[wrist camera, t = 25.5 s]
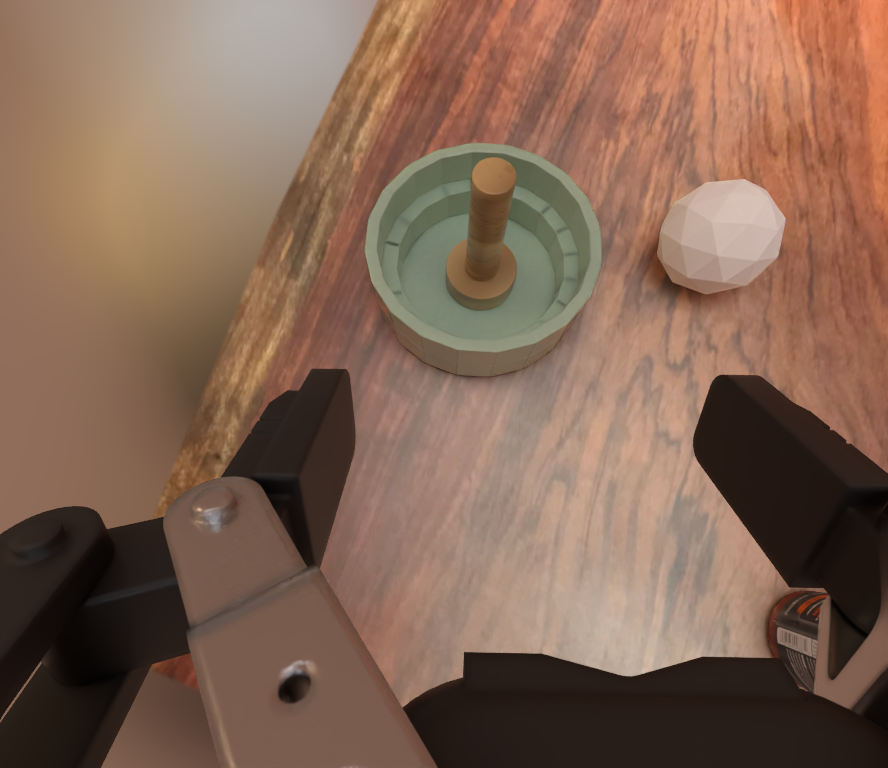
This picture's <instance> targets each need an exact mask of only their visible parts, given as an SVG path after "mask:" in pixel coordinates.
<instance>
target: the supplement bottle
mask: <svg viewBox="0 0 888 768" xmlns="http://www.w3.org/2000/svg"><path fill="white" fill-rule="evenodd" d="M827 596H828V594H827V593H822V592H815V591H800V592H794V593H792V594H790V595H787V596H786V597H785V598H783V599H782V600H781V601H780V602H779V603H778V604H777V605H776V606H775V608H774V610H773V611H772V612H771V616H770V620H769V627H768V637H769V644H770V647H771V650H772V653H773V655H774V657H775V658H781V660H782V661H783V663H784V664H785V666H786V668H787V669H788V671H789V673H790V674H791V676H792V677H793V679H794V681H795V682H796V684H798V685H799V686H801V687H803V688H805V689H806V690H808V691H809V692H811V693H813V692H814V681H815V667H816V654H817V641H818V627H819V614H820V607H821V605H822V603H823V602H824V600H825V599H826V597H827Z"/></svg>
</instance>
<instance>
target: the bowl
mask: <svg viewBox="0 0 888 768" xmlns="http://www.w3.org/2000/svg"><path fill="white" fill-rule="evenodd" d="M491 157H497V158H501V159H504V160H506V161H508V162H509V163H510V164H511V165H512V166H513V167H514V169H515V171H516V176H517V179H516V184H515V189H514V194H513V198H512V203H511V208H510V213H509V218H508V222H507V227H506V232H505V237H504V242H503V243H504V244H505V245H506V246H507V247H508V248H509V249H510V250H511V252H512V253H513V255H514V257H515V260H516V264H517V273H516V277H515V281H514V284H513V288H512V291H511V293H510V295H509V296H508V298H507V299H506V300H505V301H504V302H503V303H502V304H500V305H499V306H497V307H495V308H492V309H489V310H481V311H478V310H472V309H468V308H466V307H464V306H462V305H460V304H459V303H457V302H456V301H455V300H454V299H453V298H452V296H451V295H450V293H449V291H448V288H447V284H446V263H447V259H448V256H449V254H450V252H451V251H452V249H453V248H454V247H455V246H456V245H457V244H458V243H460V242H461V241H463V240H465V239H467V234H468V220H469V206H470V193H471V179H472V171H473V169H474V167H475V166H476V165H477V164H478V163H479V162H480V161H482V160H483V159H486V158H491ZM365 255H366V260H367V264H368V268H369V273H370V277H371V281H372V285H373V288H374V291H375V294H376V297H377V300H378V303H379V306H380V309H381V312H382V315H383V317H384V319H385V320H386V322H387V324H388V325H389V327H390V328H391V330H392V331H393V333H394V334H395V336H396V338H397V339H398V341H399V342H400V343H401V344H402V345H403V346H405V347H406V348H407V349H408V350H410V351H411V352H412V353H413V354H415V355H416V356H417V357H418V358H420V359H421V360H422V361H423V362H425V363H427V364H430V365H432V366H435V367H437V368H440V369H443V370H445V371H448V372H451V373H453V374H457V375H469V376H485V377H490V376H495V375H499V374H503V373H507V372H512V371H516V370H520V369H522V368H525V367H526V366H528V365H530V364H531V363H533V362H535V361H536V360H538V359H539V358H541V357H543V356H544V355H546V354H547V353H549V352H550V351H551V350H552V349H553V348H554V347H555V345H556V344H557V343H558V342H559V340H560V339H561V338H562V337H563V336H564V334H565V333H566V332H567V331H568V329H569V328H570V327H571V325H572V324H573V322H574V321H575V319H576V318H577V316H578V315H579V313H580V312H581V310H582V309H583V307H584V306H585V304H586V303H587V301H588V300H589V298H590V296H591V295H592V292H593V289H594V286H595V283H596V280H597V277H598V275H599V272H600V269H601V266H602V243H601V228H600V226H599V223H598V221H597V218H596V216H595V213H594V211H593V208H592V206H591V203H590V200H589V199H588V198H587V197H586V195H585V194H584V193H583V192H582V191H581V190H580V188H579V187H578V186H577V185H576V184H575V182H574V181H573V180H572V179H571V178H570V176H569V175H567V173H565V172H564V171H562V170H561V169H559V168H558V167H556V166H555V165H553V164H552V163H550V162H549V161H547V160H546V159H544V158H543V157H541V156H539V155H537V154H534V153H531V152H528V151H525V150H522V149H519V148H515V147H512V146H509V145H505V144H485V143H468V144H463V145H459V146H454V147H449V148H445V149H440V150H438V151H437V150H436V151H434V152H432V153H430V154H428V155H426V156H424V157H422V158H421V159H419V160H417V161H415V162H413V163H411V164H409V165H407V167H406V168H405V169H403V170H402V171H401V172H400V173H399V174H398V175H397V176H396V177H395V178H394V179H393V180H392V181H391V182H390V183H389V184H388V185H387V186H386V187H385V188H384V190H383V191H382V193H381V195H380V197H379V199H378V201H377V203H376V205H375V207H374V209H373V211H372V213H371V215H370V217H369V219H368V227H367V234H366V242H365Z"/></svg>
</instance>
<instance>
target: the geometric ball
mask: <svg viewBox="0 0 888 768" xmlns="http://www.w3.org/2000/svg"><path fill="white" fill-rule="evenodd" d="M785 221H786V219H785V217H784V216H783V214H782V213H781V211H780V210H779V208H778V207H777V205H776V204H775V202H774V201H773V199H772V198H771V196H770V195H769V193H768V192H767V191H766V190H765V189H763V188H761V187H759V186H757V185H755V184H753V183H751V182H749V181H747V180H745V179H739V180H728V181H716V182H706V183H705V184H703V185H701V186H700V187H698V188H696V189H695V190H693V191H692V192H690V193H688V194H687V195H685V196H684V197H682V198H680V199H679V200H677V201H676V202H674V204H673V206H672V207H671V209H670V211H669V213H668V214H667V216H666V218H665V220H664V221H663V224H662V227H661V231H660V237H659V244H658V251H657V256H658V258H659V260H660V262H661V263H662V265H663V267H664V269H665V270H666V272H667V274H668V275H669V277H670V279H671V281H672V282H673V283H676V284H678V285H681V286H684V287H687V288H689V289H692V290H695V291H697V292H700V293H703V294H711V293H715V292H720V291H724V290H729V289H733V288H738V287H742V286H746V285H748V284H749V283H750V282H751V281H752V280H754V279H755V278H756V277H757V276H758V275H759V274H760V273H761V272H763V271H764V270H765V269H766V268H767V267H768V266H769V265H770V264H771V263H772V262H773V261H774V260H775V259H776V258H777V257H778V255H779V250H780V245H781V240H782V236H783V231H784V226H785Z"/></svg>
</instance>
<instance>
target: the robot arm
mask: <svg viewBox="0 0 888 768" xmlns="http://www.w3.org/2000/svg"><path fill="white" fill-rule="evenodd" d="M355 437H356V435H355V421H354V412H353V402H352V393H351V384H350V377H349V373H348V371H347V369H312V370H311V371H310V373H309V374H308V376H307V378H306V380H305V381H304V383H303V385H302V387H301V388H300V390H299V391H290V390H287V391H286V392H285V393H283V394H282V395H280V396H279V397H277V398H276V399H275V400H273V401H272V402H270V403H269V405H268V406H267V408H266V409H265V411H264V412H263V414H262V415H261V417H260V421H257V423H256V425H255V426H254V428H253V429H252V433H251V434H249V435H248V437H247V438H246V440H245V441H244V443H243V444H242V446H241V447H240V449H239V450H238V452H237V454H236V455H235V457H234V458H233V460H232V461H231V463H230V464H229V466H228V467H227V469H226V470H225V472H224V473H223V475H222V476H221V478H217V479H213V480H209V481H206V482H204V483H201V484H199V485H197V486H195V487H193V488H191V489H189V490H188V491H186V492H185V493H183V494H182V495H181V496H180V497H178V498H177V499H176V500H175V501H174V502H173V503H172V504H171V506H170V507H169V508H168V510H167V512H166V514H165V516H164V517H161V518H157V519H153V520H148V521H144V522H139V523H135V524H129V525H125V526H120V527H115V528H111V529H106V527H105V525H104V523H103V521H102V519H101V517H100V515H99V514H98V513H97V512H96V511H95V510H93V509H90V508H87V507H79V506H72V507H63V508H57V509H54V510H50V511H46V512H43V513H40V514H37V515H35V516H32V517H30V518H28V519H26V520H24V521H22V522H20V523H18V524H16V525H14V526H13V527H11V528H9V529H8V530H6V531H5V532H3V533H2V534H0V719H1V717H2V716H3V714H4V713H5V711H6V709H7V708H8V707H9V705H10V704H11V702H12V701H13V700H14V698H15V697H16V695H17V694H18V692H19V691H20V690H21V688H22V687H23V685H24V684H25V683H26V681H27V680H28V678H29V677H30V675H31V673H32V672H33V671H34V670H35V668H36V667H37V666H38V664H39V663H40V661H41V662H42V664H41V665H40V667H39V668H38V670H37V671H36V673H35V674H34V675H33V677H32V678H31V680H30V681H29V683H28V684H27V685H26V687H25V688H24V690H23V691H22V693H21V694H20V696H19V697H18V698H17V700H16V701H15V703H14V704H13V705H12V707H11V708H10V710H9V711H8V713H7V714H6V715H5V717H4V718H3V720H2V721H1V723H0V768H101V766H102V764H103V762H104V760H105V758H106V756H107V754H108V752H109V750H110V748H111V746H112V744H113V742H114V740H115V738H116V736H117V734H118V732H119V730H120V728H121V726H122V724H123V722H124V720H125V718H126V716H127V713H128V712H129V710H130V708H131V706H132V704H133V702H134V700H135V698H136V696H137V694H138V691H139V689H140V687H141V685H142V683H143V681H144V679H145V677H146V675H147V673H148V671H149V669H150V667H151V665H152V664H154V663H158V662H161V661H164V660H168V659H171V658H175V657H178V656H181V655H185V654H188V653H191V657H192V661H193V665H194V669H195V673H196V676H197V680H198V684H199V688H200V692H201V696H202V700H203V704H204V708H205V711H206V715H207V720H208V724H209V727H210V731H211V735H212V739H213V743H214V747H215V751H216V755H217V759H218V762H219V767H220V768H888V473H886V472H885V471H884V470H883V469H882V468H880V467H879V466H878V465H877V464H875V463H874V462H873V461H872V460H870V459H869V458H868V457H867V456H865V455H864V454H863V453H862V452H860V451H859V450H858V449H857V448H855V447H854V446H853V445H852V444H847V443H846V440H845V439H844V438H843V437H842V436H840V435H839V434H838V433H837V432H835V431H834V430H830V427H829V426H828V425H827V424H825V423H824V422H823V421H822V420H820V419H819V418H818V417H817V416H815V415H814V414H813V413H812V412H810V411H808V410H806V409H804V408H803V407H801V406H799V405H797V404H795V403H793V402H792V401H791V400H789V399H788V398H787V397H786V396H784V395H783V394H782V393H781V392H780V391H778V390H777V389H776V388H775V387H773V386H772V385H771V384H770V383H768V382H767V381H766V380H765V379H764V378H762V377H761V376H758V375H719V376H717V377H716V378H715V379H714V380H713V382H712V384H711V386H710V389H709V392H708V395H707V398H706V401H705V404H704V406H703V409H702V412H701V415H700V418H699V421H698V424H697V427H696V430H695V433H694V438H693V448H694V453H695V456H696V459H697V461H698V462H699V464H700V465H701V467H702V468H703V469H704V471H705V472H706V473H707V475H708V476H709V478H710V479H711V480H712V482H713V483H714V484H715V486H716V487H717V489H718V490H719V491H720V493H721V494H722V495H723V497H724V498H725V499H726V501H727V502H728V504H729V505H730V506H731V508H732V509H733V510H734V512H735V513H736V515H737V516H738V517H739V519H740V520H741V521H742V523H743V524H744V526H745V527H746V528H747V530H748V531H749V532H750V534H751V535H752V537H753V538H754V539H755V541H756V542H757V543H758V545H759V546H760V547H761V549H762V550H763V552H764V553H765V554H766V556H767V557H768V558H769V560H770V561H771V563H772V564H773V565H774V567H775V568H776V569H777V571H778V572H779V574H780V575H781V576H782V578H783V579H784V580H785V582H786V583H787V585H788V586H789V587H794V588H824V589H825V590H826V592H827V593H828V596H827V597H826V599H825V600H824V602H823V603H822V605H821V607H820V614H819V627H818V641H817V654H816V667H815V681H814V692H813V693H811V692H808V691H805V690H803V689H799V687H798V686H797V684H796V682H795V681H794V679H793V677H792V676H791V674H790V673H789V671H788V669H787V668H786V666H785V664H784V663H783V661H782V660H781V658H739V657H700V658H697V659H693V660H690V661H686V662H683V663H679V664H676V665H672V666H669V667H665V668H662V669H658V670H655V671H651V672H648V673H644V674H641V675H637V676H632V677H630V676H621V675H617V674H613V673H610V672H606V671H602V670H599V669H595V668H591V667H588V666H584V665H581V664H577V663H573V662H570V661H566V660H562V659H559V658H555V657H552V656H548V655H544V654H528V653H476V652H464V667H463V678H460V679H456V680H453V681H449V682H446V683H444V684H441V685H439V686H437V687H434V688H432V689H430V690H428V691H426V692H425V693H423V694H421V695H420V696H418V697H416V698H415V699H413V700H412V701H410V702H409V703H408V704H407V705H405V706H404V707H403V708H402V706H401V705H400V703H399V701H398V700H397V698H396V696H395V695H394V693H393V691H392V690H391V688H390V686H389V684H388V683H387V681H386V679H385V678H384V676H383V674H382V673H381V671H380V669H379V668H378V666H377V664H376V663H375V661H374V659H373V657H372V656H371V654H370V652H369V651H368V649H367V647H366V646H365V644H364V642H363V641H362V639H361V637H360V636H359V634H358V632H357V630H356V629H355V627H354V625H353V624H352V622H351V620H350V619H349V617H348V615H347V614H346V612H345V610H344V608H343V607H342V605H341V603H340V602H339V600H338V598H337V597H336V595H335V593H334V592H333V590H332V588H331V587H330V585H329V583H328V581H327V580H326V578H325V577H324V575H323V573H322V572H321V571H320V566H321V563H322V559H323V556H324V553H325V549H326V546H327V543H328V539H329V536H330V533H331V529H332V526H333V522H334V519H335V516H336V512H337V509H338V506H339V502H340V499H341V496H342V492H343V489H344V485H345V482H346V479H347V475H348V472H349V469H350V465H351V462H352V459H353V455H354V450H355Z"/></svg>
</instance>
